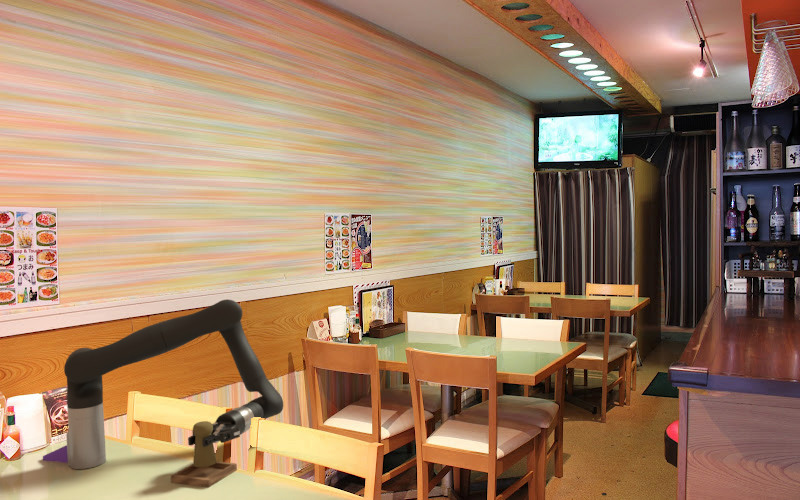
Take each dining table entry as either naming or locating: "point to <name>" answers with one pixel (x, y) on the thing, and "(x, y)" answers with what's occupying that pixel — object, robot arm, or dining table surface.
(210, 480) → the tray
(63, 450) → the bracket
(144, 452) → the dining table surface
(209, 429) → the olive pepper mill
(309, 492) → the dining table surface
